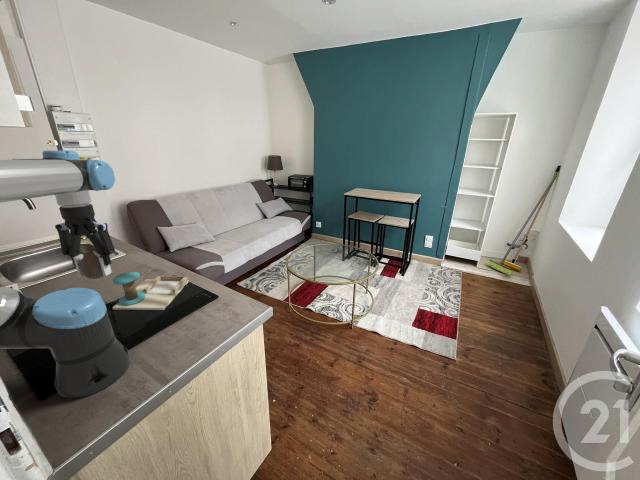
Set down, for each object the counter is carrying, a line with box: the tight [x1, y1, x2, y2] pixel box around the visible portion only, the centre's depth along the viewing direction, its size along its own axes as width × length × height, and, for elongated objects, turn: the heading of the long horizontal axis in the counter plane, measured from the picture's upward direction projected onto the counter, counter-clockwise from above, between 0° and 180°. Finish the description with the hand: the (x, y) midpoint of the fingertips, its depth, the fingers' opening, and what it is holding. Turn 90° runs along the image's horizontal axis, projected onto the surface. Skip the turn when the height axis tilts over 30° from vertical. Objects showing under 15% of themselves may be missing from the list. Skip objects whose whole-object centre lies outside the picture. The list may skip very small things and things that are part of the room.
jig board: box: [112, 271, 189, 311], centre depth 102 cm, size 20×18×11 cm
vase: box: [80, 250, 104, 280], centre depth 85 cm, size 7×7×9 cm
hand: (95, 274), depth 86 cm, fingers closed on vase, 7 cm apart
